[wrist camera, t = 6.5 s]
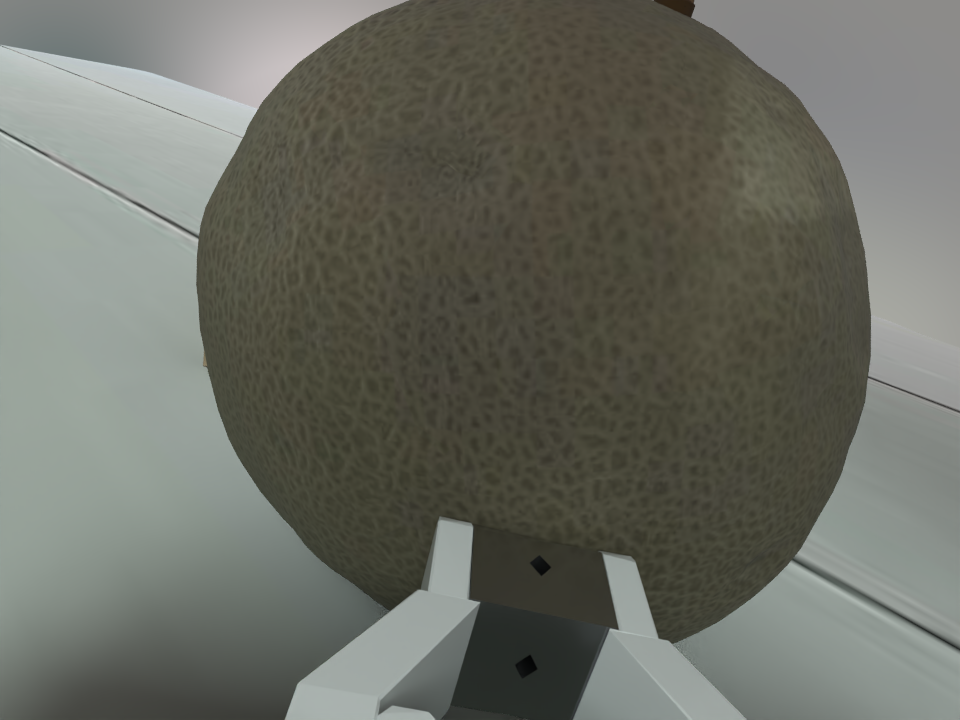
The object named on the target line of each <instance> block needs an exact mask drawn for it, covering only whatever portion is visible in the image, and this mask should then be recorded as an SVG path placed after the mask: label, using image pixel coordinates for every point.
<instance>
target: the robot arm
mask: <svg viewBox="0 0 960 720" xmlns="http://www.w3.org/2000/svg"><path fill="white" fill-rule="evenodd" d="M450 705H451V706H457V707H463V708H469V709H475V710H481V711H487V712H493V713H499V714H506V715H511V716H515V717H520V718H524V719H528V720H747V719H746V718H745V717H744V716H743V715H742V714H741V713H740V712H739V711H738V710H737V709H736V708H735V707H734V706H733V705H732V704H731V703H730V702H729V701H728V700H727V699H726V698H725V697H724V696H723V695H722V694H721V693H720V692H719V691H718V690H717V689H716V688H715V687H714V686H713V685H712V684H711V683H710V682H709V681H708V680H707V679H706V678H705V677H704V676H703V675H702V674H701V673H700V672H699V671H698V670H697V669H696V668H695V667H694V666H693V665H692V664H691V663H690V662H689V661H688V660H687V659H686V658H685V657H684V656H683V655H682V654H681V653H680V652H679V651H678V650H677V649H676V648H675V647H674V646H673V645H672V644H671V643H670V642H669V641H667V640H662V639H659V638H658V634H657V631H656V628H655V624H654V621H653V618H652V614H651V611H650V608H649V605H648V601H647V598H646V595H645V591H644V588H643V585H642V582H641V578H640V575H639V572H638V568H637V565H636V562H635V560H634V559H633V558H632V557H631V556H626V555H620V554H614V553H609V552H603V551H593V550H588V549H583V548H578V547H573V546H568V545H563V544H558V543H553V542H548V541H543V540H539V539H537V538H533V537H528V536H524V535H520V534H516V533H511V532H507V531H503V530H499V529H494V528H490V527H486V526H482V525H477V524H473V525H472V523H469V522H464V521H459V520H455V519H450V518H445V517H441V516H440V517H439V520H438V522H437V525H436V529H435V533H434V537H433V541H432V545H431V549H430V553H429V557H428V561H427V565H426V569H425V573H424V577H423V581H422V585H421V590H417V591H415V592H414V593H413V594H411V595H410V596H409V597H408V598H406V599H405V600H404V601H402V602H401V603H400V604H399V605H397V606H396V607H395V608H394V609H392V610H391V611H390V612H388V613H387V614H386V615H385V616H383V617H382V618H381V619H379V620H378V621H377V622H376V623H374V624H373V625H372V626H370V627H369V628H368V629H367V630H365V631H364V632H363V633H362V634H360V635H359V636H358V637H356V638H355V639H354V640H353V641H351V642H350V643H349V644H347V645H346V646H345V647H344V648H342V649H341V650H340V651H338V652H337V653H336V654H335V655H333V656H332V657H331V658H329V659H328V660H327V661H326V662H324V663H323V664H322V665H321V666H319V667H318V668H317V669H315V670H314V671H313V672H312V673H310V674H309V675H308V676H306V677H305V678H304V679H303V680H301V681H300V682H299V683H298V684H297V687H296V690H295V693H294V695H293V698H292V701H291V704H290V707H289V709H288V712H287V715H286V718H285V720H441V719H442V717H443V716H444V715H445V714H446V712H447V711H448V710H449V707H450Z"/></svg>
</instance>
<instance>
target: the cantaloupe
mask: <svg viewBox="0 0 960 720" xmlns="http://www.w3.org/2000/svg"><path fill="white" fill-rule="evenodd" d="M196 285H197V294H198V303H199V320H200V331H201V336H202V340H203V346H204V351H205V357H206V362H207V368H208V373H209V376H210V380H211V384H212V388H213V392H214V396H215V400H216V403H217V407H218V411H219V413H220V416H221V419H222V422H223V424H224V427H225V430H226V433H227V435H228V438H229V440H230V442H231V444H232V446H233V448H234V450H235V452H236V454H237V456H238V458H239V459H240V461H241V463H242V464H243V466H244V467H245V469H246V470H247V472H248V473H249V475H250V476H251V478H252V479H253V481H254V483H255V484H256V486H257V487H258V489H259V490H260V492H261V493H262V494H263V495H264V496H265V498H266V499H267V500H268V501H269V502H270V503H271V505H272V506H273V507H274V508H275V509H276V511H277V512H278V513H279V514H280V515H281V517H282V518H283V519H284V520H285V521H286V522H287V523H288V524H289V525H290V526H291V527H292V528H293V529H294V531H295V532H296V533H297V535H298V536H299V537H300V538H301V540H302V541H303V542H304V544H305V545H306V546H307V547H308V548H309V549H310V550H311V551H312V552H313V553H314V554H315V555H316V556H317V557H318V558H319V559H320V560H321V561H322V562H324V563H325V564H326V565H327V566H328V567H330V568H331V569H332V570H334V571H335V572H337V573H338V574H340V575H341V576H343V577H344V578H346V579H347V580H349V581H350V582H352V583H353V584H354V585H356V586H357V587H358V588H360V589H361V590H362V591H363V592H365V593H366V594H367V595H369V596H370V597H371V598H373V599H374V600H375V601H376V602H378V603H379V604H381V605H382V606H384V607H385V608H387V609H388V610H390V611H391V610H392V609H394V608H395V607H396V606H397V605H399V604H400V603H401V602H402V601H404V600H405V599H406V598H408V597H409V596H410V595H411V594H413V593H414V592H415V591H417V590H421V585H422V581H423V577H424V573H425V569H426V565H427V561H428V557H429V553H430V549H431V545H432V541H433V537H434V533H435V529H436V525H437V522H438V520H439V517H440V516H441V517H445V518H450V519H455V520H459V521H464V522H469V523H472V525H473V524H477V525H482V526H486V527H490V528H494V529H499V530H503V531H507V532H511V533H516V534H520V535H524V536H528V537H533V538H537V539H539V540H543V541H548V542H553V543H558V544H563V545H568V546H573V547H578V548H583V549H588V550H593V551H603V552H609V553H614V554H620V555H626V556H631V557H632V558H633V559H634V560H635V562H636V565H637V568H638V572H639V575H640V578H641V582H642V585H643V588H644V591H645V595H646V598H647V601H648V605H649V608H650V611H651V614H652V618H653V621H654V624H655V628H656V631H657V634H658V638H659V639H662V640H667V641H669V642H670V643H671V644H673V643H676V642H678V641H681V640H683V639H685V638H687V637H689V636H691V635H694V634H696V633H698V632H700V631H702V630H703V629H705V628H707V627H709V626H711V625H713V624H715V623H717V622H719V621H720V620H721V619H723V618H724V617H726V616H727V615H729V614H730V613H732V612H733V611H735V610H736V609H737V608H739V607H740V606H742V605H743V604H744V603H746V602H747V601H748V600H750V599H751V598H752V597H753V596H755V595H756V594H757V593H758V592H759V591H761V590H762V589H763V588H764V587H765V586H766V585H767V584H769V583H770V582H771V581H772V580H773V579H774V578H775V577H776V576H777V575H778V574H779V573H780V572H781V571H782V570H783V569H784V568H785V567H786V566H787V565H788V564H789V562H790V561H791V560H792V559H793V557H794V556H795V555H796V554H797V552H798V551H799V550H800V549H801V547H802V545H803V543H804V542H805V540H806V538H807V536H808V535H809V533H810V531H811V529H812V527H813V526H814V524H815V522H816V520H817V519H818V517H819V515H820V513H821V512H822V510H823V508H824V507H825V505H826V503H827V501H828V500H829V498H830V496H831V495H832V493H833V491H834V488H835V486H836V484H837V482H838V480H839V478H840V475H841V473H842V470H843V466H844V463H845V460H846V456H847V453H848V449H849V446H850V444H851V442H852V439H853V437H854V435H855V432H856V429H857V426H858V423H859V419H860V416H861V413H862V410H863V406H864V403H865V397H866V387H867V379H868V372H869V364H870V357H871V312H870V302H869V292H868V279H867V268H866V260H865V251H864V247H863V243H862V238H861V234H860V230H859V226H858V221H857V217H856V213H855V209H854V205H853V201H852V197H851V194H850V190H849V186H848V182H847V179H846V176H845V174H844V171H843V169H842V166H841V164H840V161H839V159H838V157H837V155H836V154H835V152H834V150H833V148H832V146H831V145H830V143H829V141H828V140H827V138H826V137H825V135H824V134H823V133H822V131H821V130H820V129H819V127H818V126H817V124H816V123H815V122H814V120H813V119H812V117H811V116H810V115H809V113H808V112H807V110H806V109H805V107H804V105H803V104H802V102H801V101H800V100H799V99H798V97H796V95H794V93H793V92H792V91H791V90H789V88H788V87H786V85H784V84H783V83H782V82H780V81H779V80H777V79H776V78H774V77H773V76H772V75H770V74H769V73H767V72H766V71H764V70H763V69H762V68H760V67H758V66H757V65H756V64H755V63H754V62H753V61H752V60H750V59H749V58H748V57H747V56H746V55H745V54H744V53H743V52H741V51H740V50H739V49H738V48H737V47H736V46H735V45H734V44H732V43H731V42H730V41H729V40H727V39H726V38H725V37H723V36H722V35H720V34H719V33H718V32H716V31H715V30H713V29H712V28H709V27H707V26H705V25H704V24H702V23H700V22H698V21H696V20H695V19H692V18H690V17H688V16H686V15H683V14H681V13H679V12H677V11H674V10H672V9H670V8H668V7H666V6H664V5H661V4H659V3H657V2H655V1H652V0H409V1H407V2H404V3H402V4H399V5H397V6H394V7H391V8H389V9H386V10H384V11H381V12H379V13H376V14H374V15H371V16H370V17H368V18H366V19H364V20H362V21H360V22H358V23H356V24H354V25H353V26H351V27H349V28H348V29H347V30H345V31H343V32H342V33H340V34H339V35H337V36H336V37H334V38H333V39H331V40H330V41H328V42H327V43H325V44H324V45H323V46H321V47H320V48H318V49H317V50H316V51H315V52H313V53H312V54H310V55H309V56H307V57H306V58H305V59H303V60H302V61H301V62H299V63H298V64H297V65H296V66H295V67H294V68H293V69H292V70H291V71H290V72H289V73H288V74H287V75H286V76H285V77H284V78H283V79H282V80H281V81H280V82H279V83H278V85H277V86H276V87H275V88H274V89H273V90H272V92H271V93H270V94H269V95H268V96H267V97H266V98H265V100H264V101H263V102H262V104H261V105H260V107H259V109H258V110H257V112H256V114H255V115H254V117H253V119H252V121H251V122H250V124H249V126H248V128H247V130H246V133H245V135H244V137H243V139H242V141H241V143H240V145H239V147H238V149H237V150H236V152H235V154H234V156H233V157H232V159H231V161H230V163H229V164H228V166H227V168H226V169H225V171H224V173H223V175H222V176H221V178H220V180H219V182H218V184H217V186H216V188H215V190H214V192H213V194H212V196H211V198H210V200H209V202H208V204H207V206H206V208H205V212H204V215H203V219H202V222H201V226H200V234H199V242H198V252H197V282H196Z"/></svg>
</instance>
